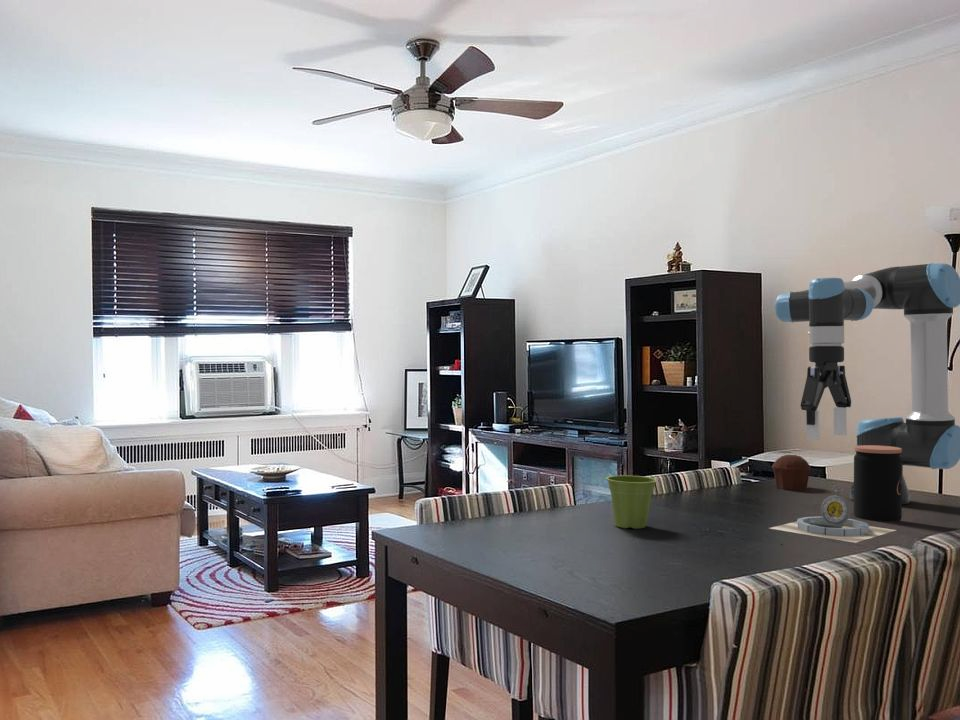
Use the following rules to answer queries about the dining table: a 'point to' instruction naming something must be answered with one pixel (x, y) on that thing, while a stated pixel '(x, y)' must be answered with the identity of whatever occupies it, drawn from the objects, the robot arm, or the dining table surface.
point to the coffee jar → (878, 483)
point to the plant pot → (631, 499)
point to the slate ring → (858, 529)
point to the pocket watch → (834, 510)
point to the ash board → (872, 533)
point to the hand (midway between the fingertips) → (826, 437)
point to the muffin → (791, 472)
